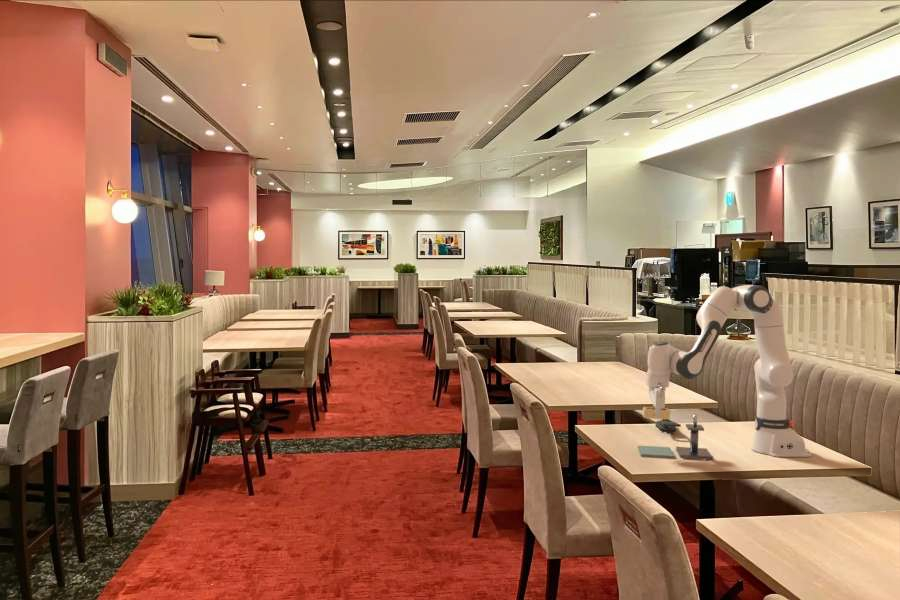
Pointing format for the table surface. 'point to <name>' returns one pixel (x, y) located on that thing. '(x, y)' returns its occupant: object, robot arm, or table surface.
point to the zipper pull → (667, 425)
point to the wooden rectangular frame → (650, 413)
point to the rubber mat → (656, 451)
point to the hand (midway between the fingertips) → (656, 415)
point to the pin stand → (694, 444)
